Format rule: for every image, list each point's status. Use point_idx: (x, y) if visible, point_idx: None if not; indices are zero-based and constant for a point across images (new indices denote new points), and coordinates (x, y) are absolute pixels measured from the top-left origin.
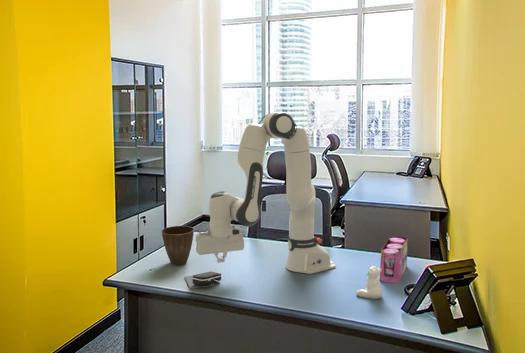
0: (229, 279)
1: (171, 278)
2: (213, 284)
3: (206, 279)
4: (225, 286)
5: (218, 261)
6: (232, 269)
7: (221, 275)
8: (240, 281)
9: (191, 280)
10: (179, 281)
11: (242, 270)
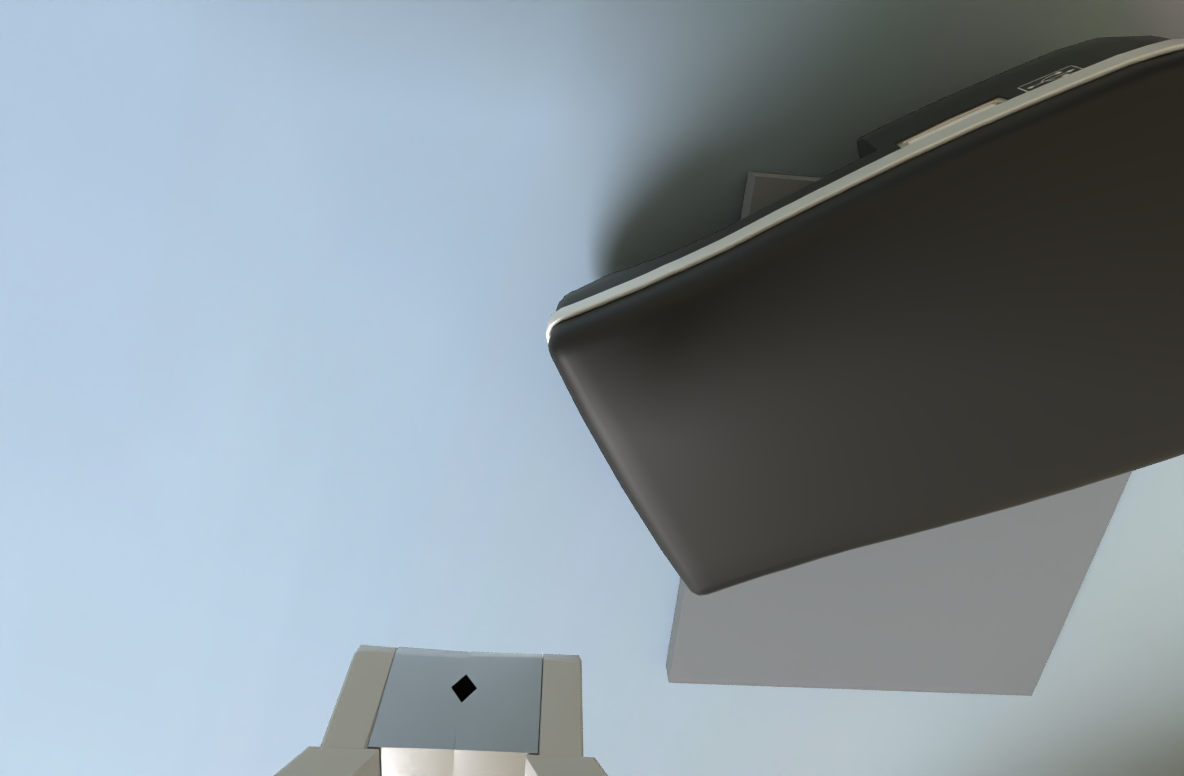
0: (369, 339)
1: (1175, 721)
2: (773, 175)
3: (1098, 67)
4: (552, 12)
5: (564, 679)
6: (219, 703)
7: (551, 323)
8: (164, 137)
9: (1027, 522)
10: (1151, 592)
11: (49, 614)
